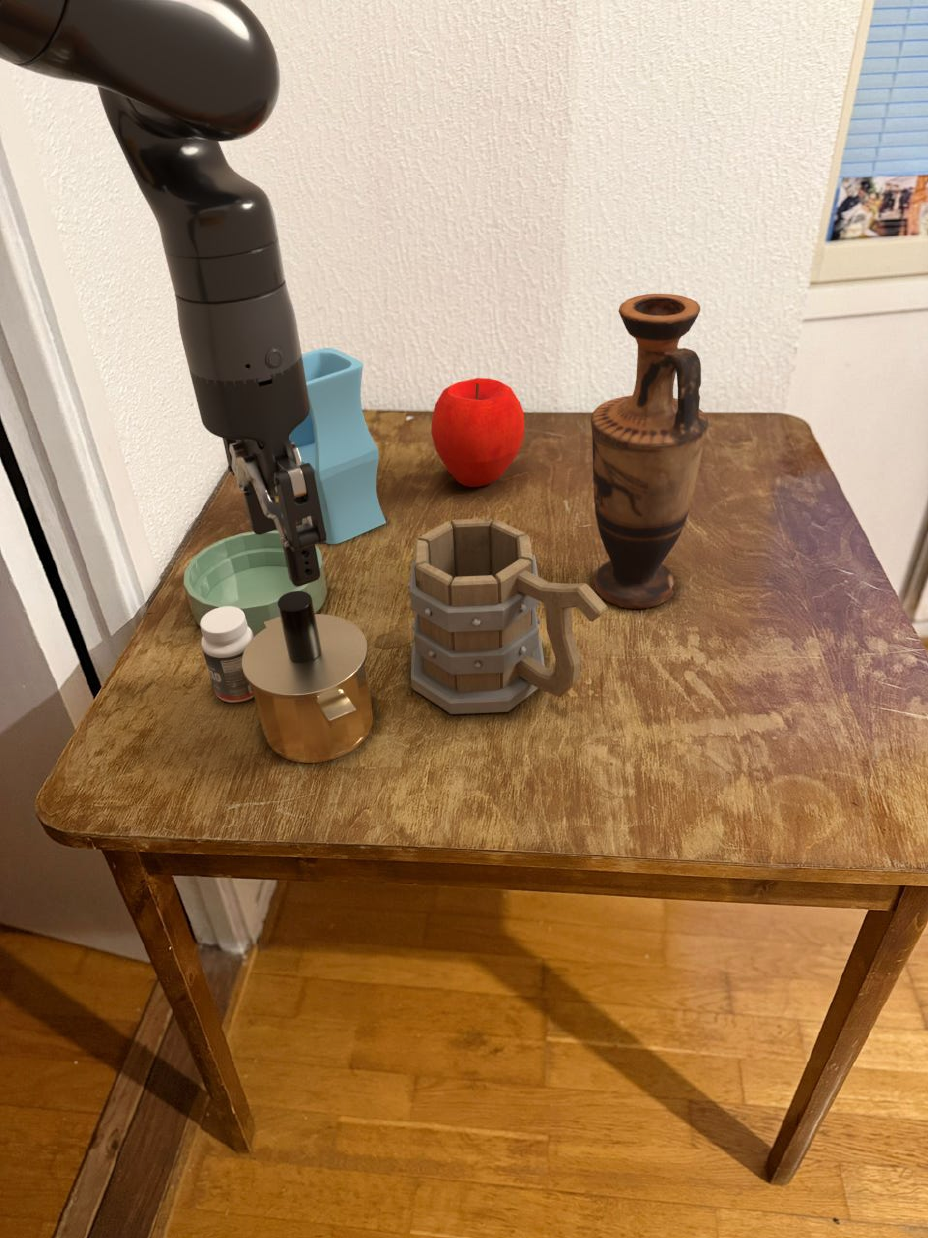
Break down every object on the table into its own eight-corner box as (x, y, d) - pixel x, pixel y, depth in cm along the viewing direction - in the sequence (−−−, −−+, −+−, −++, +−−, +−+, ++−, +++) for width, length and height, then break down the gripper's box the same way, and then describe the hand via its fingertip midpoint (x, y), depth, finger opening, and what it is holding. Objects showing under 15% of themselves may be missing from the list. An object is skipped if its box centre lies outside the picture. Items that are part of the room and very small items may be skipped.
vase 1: (297, 521, 109) (268, 364, 97) (351, 498, 113) (329, 345, 100) (331, 547, 104) (305, 385, 92) (386, 523, 108) (368, 364, 95)
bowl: (217, 660, 88) (207, 625, 86) (177, 589, 98) (167, 556, 96) (348, 612, 94) (343, 577, 91) (298, 549, 104) (292, 516, 101)
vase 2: (562, 579, 97) (571, 303, 78) (638, 547, 101) (663, 278, 83) (628, 630, 89) (655, 338, 71) (706, 593, 94) (751, 308, 75)
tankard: (385, 673, 86) (369, 543, 76) (475, 612, 93) (469, 487, 83) (544, 777, 74) (547, 639, 65) (632, 699, 81) (646, 565, 72)
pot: (300, 800, 74) (284, 732, 69) (240, 695, 84) (222, 629, 79) (404, 753, 77) (396, 685, 72) (335, 658, 88) (323, 593, 83)
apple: (495, 514, 108) (492, 412, 100) (416, 491, 113) (407, 393, 105) (540, 472, 116) (541, 374, 108) (464, 453, 121) (459, 358, 113)
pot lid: (269, 722, 70) (254, 659, 66) (227, 650, 78) (210, 589, 74) (390, 674, 74) (382, 611, 70) (338, 609, 82) (328, 549, 78)
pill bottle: (210, 680, 86) (190, 612, 81) (257, 665, 87) (241, 597, 82) (221, 710, 83) (200, 641, 77) (270, 694, 84) (253, 625, 79)
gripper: (161, 335, 63) (211, 529, 73) (223, 404, 53) (272, 618, 63) (261, 312, 66) (296, 502, 76) (338, 374, 56) (367, 583, 66)
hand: (285, 554), depth 69 cm, fingers open, 8 cm apart
